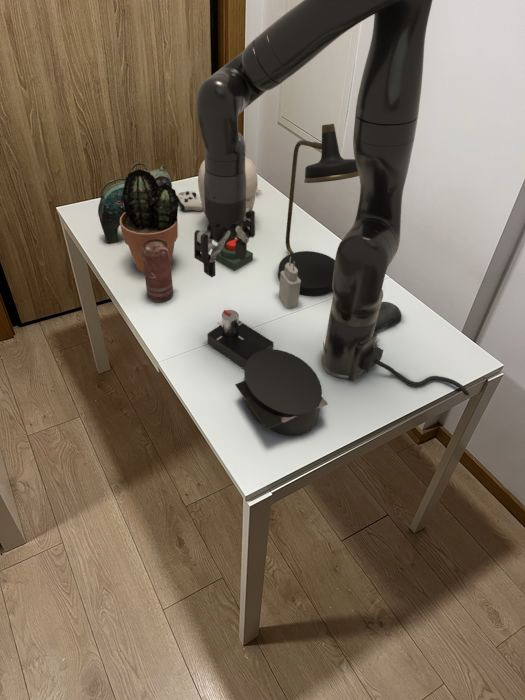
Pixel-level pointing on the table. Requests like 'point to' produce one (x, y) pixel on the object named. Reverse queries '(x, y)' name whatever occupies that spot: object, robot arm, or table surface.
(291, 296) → the power adapter
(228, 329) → the knob
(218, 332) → the panel
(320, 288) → the lamp
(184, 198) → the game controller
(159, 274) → the can
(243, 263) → the box
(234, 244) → the button
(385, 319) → the computer mouse
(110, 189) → the ceramic cat
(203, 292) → the table surface
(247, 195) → the vase
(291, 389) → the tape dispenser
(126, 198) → the potted plant
